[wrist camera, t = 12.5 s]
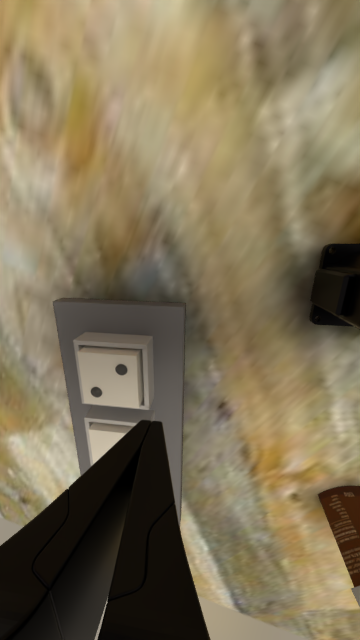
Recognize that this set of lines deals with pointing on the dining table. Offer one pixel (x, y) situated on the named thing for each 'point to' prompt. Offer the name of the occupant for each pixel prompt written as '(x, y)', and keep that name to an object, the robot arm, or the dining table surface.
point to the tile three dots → (105, 437)
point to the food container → (345, 527)
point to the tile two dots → (112, 375)
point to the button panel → (158, 368)
